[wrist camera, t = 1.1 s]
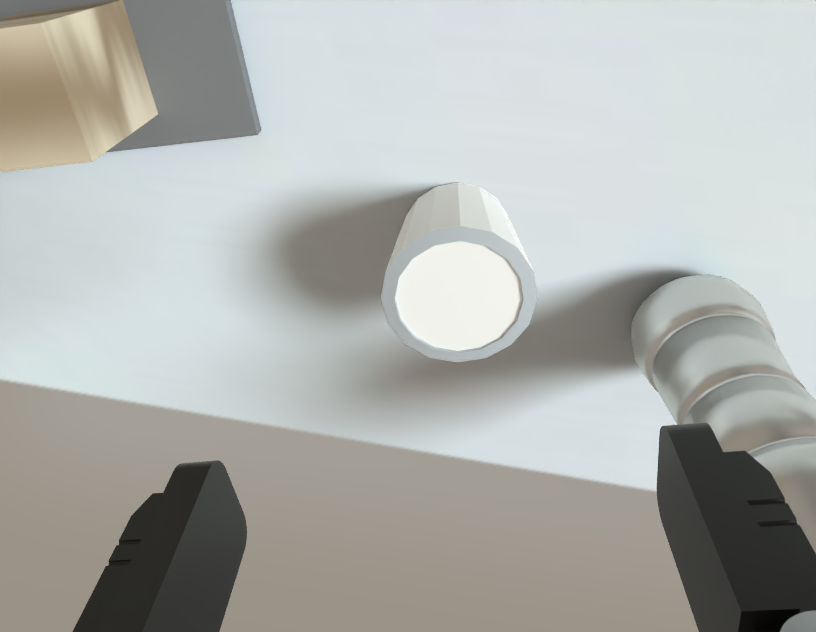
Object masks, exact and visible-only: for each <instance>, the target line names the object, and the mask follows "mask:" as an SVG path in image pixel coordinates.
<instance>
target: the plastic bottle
mask: <svg viewBox="0 0 816 632" xmlns="http://www.w3.org/2000/svg"><path fill="white" fill-rule="evenodd" d="M631 338H632V349H633V355H634V358H635V361H636V363H637V365H638V366H639V368H640V369H641V371H642V372H643V374H644V375H645V377H646V378H647V380H648V381H649V383H650V384H651V385H652V386H653V387H654V389H655V390H656V391H657V392H658V393H659V394H660V396H661V398H662V399H663V401H664V403H665V404H666V406H667V408H668V410H669V411H670V413H671V415H672V417H673V418H674V420H675V422H676V424H677V425H682V424H694V423H708V424H709V425H710V427H711V428H712V430H713V432H714V434H715V436H716V438H717V440H718V442H719V444H720V446H721V448H722V450H723V452H732V451H746V452H747V453H748V454H750V455H751V456H752V457H753V458H754V459H755V460H757V461H758V462H759V463H760V464H761V465H763V466H764V467H765V468H766V469H767V470H769V471H770V472H771V474H772V476H773V478H774V479H775V481H776V483H777V485H778V487H779V488H780V490H781V492H782V494H783V496H784V497H785V502H786V503H788V505H789V506H790V508H791V510H792V512H793V514H794V515H795V517H796V519H797V524H798V525H800V526H801V528H802V530H803V532H804V533H805V535H806V537H807V539H808V541H809V542H810V544H811V546H812V548H813V550H814V551H815V553H816V400H815V399H814V398H813V397H812V396H811V395H810V394H809V393H808V392H807V390H806V389H805V387H804V386H803V385H802V384H801V383H800V381H799V380H798V379H797V378H796V377H795V375H794V374H793V372H792V370H791V368H790V367H789V365H788V363H787V361H786V359H785V358H784V356H783V354H782V352H781V350H780V348H779V347H778V345H777V343H776V340H775V336H774V332H773V329H772V326H771V324H770V322H769V320H768V318H767V316H766V313H765V311H764V310H763V308H762V306H761V304H760V303H759V302H758V301H757V299H756V298H755V297H754V296H753V295H751V294H750V293H749V292H747V291H746V290H745V289H743V288H742V287H741V286H739V285H738V284H736V283H734V282H733V281H731V280H729V279H726V278H723V277H721V276H714V275H693V276H687V277H681V278H678V279H675V280H672V281H670V282H668V283H666V284H664V285H662V286H661V287H659V288H658V289H657V290H655V291H654V292H653V293H651V294H650V295H649V296H648V297H647V298H646V299H645V300H644V301H643V303H642V304H641V305H640V307H639V308H638V310H637V311H636V314H635V316H634V318H633V321H632V327H631Z"/></svg>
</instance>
